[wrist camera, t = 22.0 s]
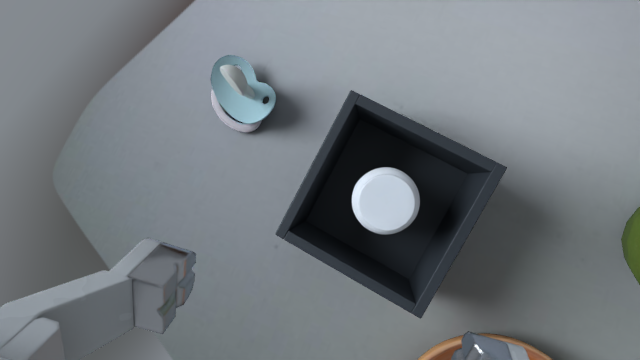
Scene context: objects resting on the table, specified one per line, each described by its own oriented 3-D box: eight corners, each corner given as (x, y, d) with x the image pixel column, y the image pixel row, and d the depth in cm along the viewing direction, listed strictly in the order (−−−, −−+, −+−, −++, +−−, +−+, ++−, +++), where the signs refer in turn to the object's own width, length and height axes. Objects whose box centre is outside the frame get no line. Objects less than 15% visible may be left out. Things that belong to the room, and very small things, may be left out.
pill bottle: (370, 234, 35) (367, 253, 26) (346, 184, 35) (335, 186, 26) (423, 210, 34) (438, 221, 25) (397, 159, 34) (403, 152, 25)
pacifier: (247, 146, 38) (288, 104, 37) (219, 141, 31) (268, 90, 30) (201, 96, 38) (240, 53, 37) (165, 81, 32) (211, 30, 31)
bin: (296, 222, 37) (274, 234, 29) (357, 109, 36) (350, 89, 28) (411, 288, 35) (420, 319, 27) (478, 170, 34) (507, 167, 26)
